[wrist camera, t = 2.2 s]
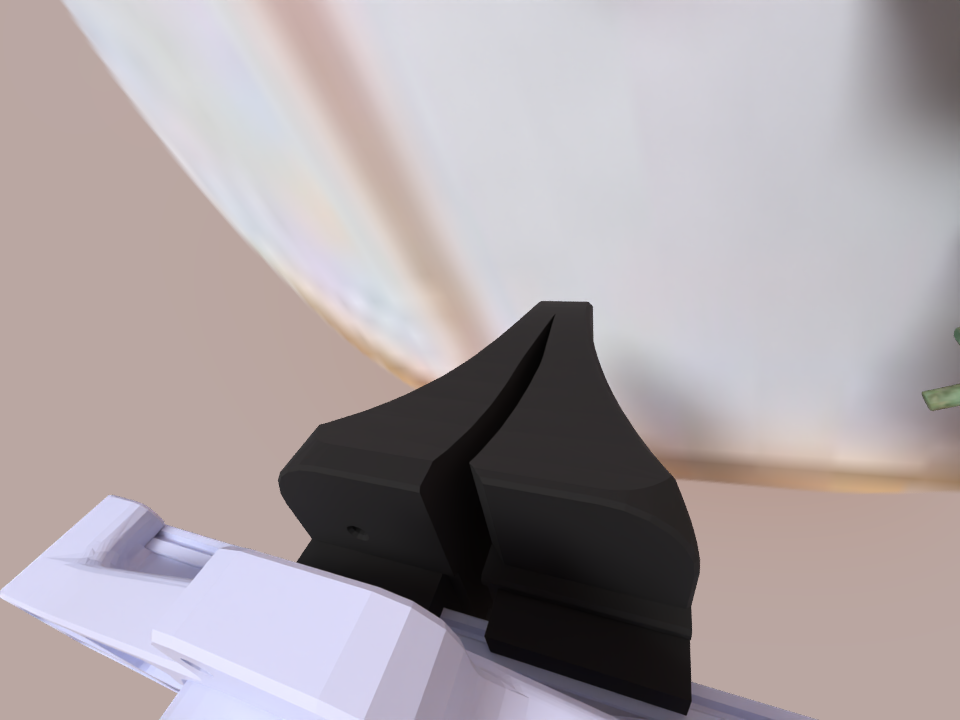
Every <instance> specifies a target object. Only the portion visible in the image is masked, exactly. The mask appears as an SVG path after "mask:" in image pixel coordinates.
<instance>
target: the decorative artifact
mask: <svg viewBox="0 0 960 720" xmlns="http://www.w3.org/2000/svg"><path fill="white" fill-rule="evenodd" d="M954 337H955V339H956V340H957V342H958V343H959V345H960V327H958V328H956V329H955V331H954ZM922 396H923V398H924V401H925V403H926V404H927V406H928V408H929V409H930V410H931V411H934V410H940V409H945V408H950V407H956V406H960V384H956V385H952V386H947V387H942V388H938V389H933V390H928V391H923V392H922Z"/></svg>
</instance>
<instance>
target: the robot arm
mask: <svg viewBox="0 0 960 720" xmlns="http://www.w3.org/2000/svg"><path fill="white" fill-rule="evenodd" d="M278 482H279V487H280V491H281V495H282V497H283V498H284V500H285V501H286V503H287V505H288V506H289V508H290V509H291V510H292V512H293V513H294V514H295V516H296V517H297V519H298V520H299V521H300V523H301V524H302V526H303V527H304V528H305V530H306V531H307V532H308V534H309V535H310V536H311V538H312V540H311V541H310V543H309V544H308V546H307V547H306V549H305V550H304V552H303V553H302V555H301V556H300V558H299V559H298V561H297V562H293V561H289V560H286V559H282V558H279V557H276V556H272V555H269V554H265V553H262V552H259V551H256V550H252V549H249V548H242V547H239V546H236V545H232V544H229V543H226V542H222V541H219V540H216V539H212V538H209V537H206V536H202V535H199V534H196V533H192V532H189V531H186V530H182V529H179V528H176V527H172V526H169V525H165V524H164V521H163V520H162V518H160V517H159V516H158V514H157V513H155V512H154V511H153V510H152V509H151V508H149V507H147V506H146V505H144V504H142V503H140V502H137V501H133V500H130V499H126V498H123V497H119V496H115V495H109V496H107V497H106V498H105V499H104V500H103V501H101V502H100V503H99V504H98V505H97V506H96V507H95V508H93V509H92V510H91V511H90V512H89V513H88V514H87V515H85V516H84V517H83V518H82V519H81V520H80V521H79V522H78V523H77V524H75V525H74V526H73V527H72V528H71V529H70V530H69V531H67V532H66V533H65V534H64V535H63V536H62V537H60V538H59V539H58V540H57V541H56V542H55V543H54V544H53V545H51V546H50V547H49V548H48V549H47V550H46V551H45V552H43V554H41V555H40V556H39V557H38V558H37V559H35V560H34V561H33V562H32V563H31V564H30V565H29V566H27V567H26V568H25V569H24V570H23V571H22V572H21V573H20V574H18V575H17V576H16V577H15V578H14V579H13V580H12V581H11V582H9V583H8V584H7V585H6V586H5V587H4V588H3V589H1V590H0V598H2V599H3V600H5V601H7V602H9V603H11V604H12V605H14V606H16V607H18V608H19V609H21V610H23V611H25V612H26V613H28V614H30V615H32V616H33V617H35V618H37V619H39V620H40V621H42V622H44V623H46V624H47V625H49V626H51V627H53V628H54V629H56V630H58V631H60V632H61V633H63V634H65V635H67V636H69V637H70V638H72V639H74V640H76V641H78V642H79V643H81V644H83V645H85V646H86V647H88V648H90V649H92V650H95V651H96V652H99V653H100V654H102V655H104V656H106V657H108V658H110V659H112V660H115V661H116V662H118V663H120V664H122V665H124V666H126V667H128V668H130V669H132V670H134V671H136V672H138V673H140V674H142V675H143V676H145V677H147V678H149V679H151V680H153V681H155V682H157V683H159V684H161V685H163V686H165V687H167V688H169V689H170V690H172V691H175V692H176V693H178V694H177V695H176V697H175V698H174V700H173V701H172V703H171V704H170V705H169V707H168V708H167V710H166V711H165V712H164V714H163V715H162V717H161V718H160V719H159V720H817V719H814V718H811V717H807V716H804V715H801V714H797V713H794V712H790V711H787V710H784V709H781V708H777V707H774V706H770V705H767V704H764V703H760V702H757V701H754V700H751V699H747V698H744V697H740V696H737V695H734V694H730V693H727V692H723V691H720V690H717V689H714V688H710V687H707V686H704V685H700V684H697V683H693V682H691V664H690V663H691V661H690V640H691V637H692V618H691V605H692V601H693V596H694V593H695V589H696V585H697V581H698V577H699V573H700V557H699V551H698V546H697V541H696V537H695V533H694V529H693V526H692V523H691V520H690V517H689V514H688V511H687V508H686V506H685V503H684V500H683V498H682V495H681V492H680V490H679V487H678V485H677V482H676V480H675V478H674V477H673V476H672V475H671V474H670V473H669V472H668V471H667V470H666V468H665V467H664V466H663V465H662V464H661V463H660V462H659V460H658V459H657V458H656V457H655V456H654V454H653V453H652V452H651V451H650V450H649V448H648V447H647V446H646V444H645V443H644V442H643V440H642V439H641V438H640V436H639V435H638V434H637V432H636V431H635V429H634V428H633V426H632V425H631V423H630V422H629V420H628V419H627V417H626V415H625V414H624V412H623V411H622V409H621V408H620V406H619V404H618V402H617V400H616V399H615V397H614V395H613V393H612V391H611V389H610V387H609V385H608V383H607V380H606V378H605V376H604V373H603V371H602V368H601V365H600V363H599V360H598V357H597V354H596V350H595V346H594V342H593V306H592V305H591V304H590V303H589V302H562V301H541V302H539V303H538V304H537V305H536V306H534V307H533V308H532V309H531V310H530V311H529V312H528V313H527V314H525V315H524V316H523V317H522V318H521V319H520V320H519V321H518V322H516V323H515V324H514V325H513V326H512V327H510V328H509V329H508V330H507V331H506V332H505V333H503V334H502V335H501V336H500V337H499V338H497V339H496V340H495V341H493V342H492V343H491V344H489V345H488V346H487V347H486V348H484V349H483V350H482V351H480V352H479V353H478V354H476V355H475V356H474V357H472V358H471V359H469V360H468V361H466V362H465V363H463V364H462V365H460V366H458V367H457V368H455V369H454V370H452V371H450V372H449V373H447V374H445V375H444V376H442V377H440V378H438V379H436V380H434V381H432V382H430V383H428V384H426V385H424V386H422V387H420V388H418V389H416V390H414V391H412V392H410V393H408V394H406V395H404V396H401V397H399V398H397V399H394V400H392V401H390V402H387V403H385V404H382V405H379V406H377V407H374V408H372V409H369V410H366V411H363V412H360V413H357V414H354V415H351V416H347V417H345V418H341V419H338V420H335V421H331V422H328V423H325V424H321V425H319V426H318V427H317V428H316V430H315V431H314V432H313V433H312V434H311V436H310V437H309V438H308V439H307V441H306V442H305V443H304V444H303V445H302V447H301V448H300V449H299V450H298V451H297V453H296V454H295V455H294V456H293V458H292V459H291V460H290V461H289V462H288V464H287V465H286V466H285V467H284V468H283V470H282V471H281V472H280V475H279V479H278Z"/></svg>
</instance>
